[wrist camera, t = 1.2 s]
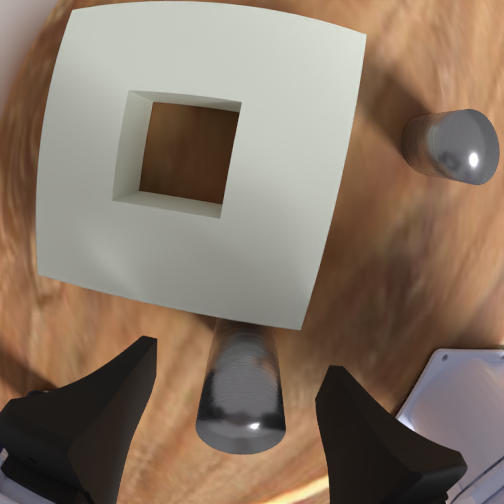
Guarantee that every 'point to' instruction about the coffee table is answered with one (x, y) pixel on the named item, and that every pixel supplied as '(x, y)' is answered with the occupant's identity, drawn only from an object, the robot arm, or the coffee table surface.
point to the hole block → (241, 165)
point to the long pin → (242, 390)
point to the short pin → (452, 146)
